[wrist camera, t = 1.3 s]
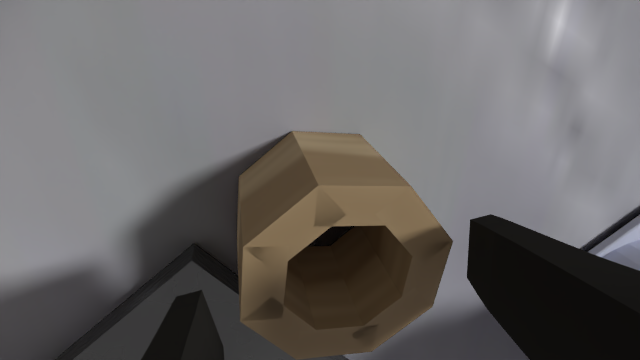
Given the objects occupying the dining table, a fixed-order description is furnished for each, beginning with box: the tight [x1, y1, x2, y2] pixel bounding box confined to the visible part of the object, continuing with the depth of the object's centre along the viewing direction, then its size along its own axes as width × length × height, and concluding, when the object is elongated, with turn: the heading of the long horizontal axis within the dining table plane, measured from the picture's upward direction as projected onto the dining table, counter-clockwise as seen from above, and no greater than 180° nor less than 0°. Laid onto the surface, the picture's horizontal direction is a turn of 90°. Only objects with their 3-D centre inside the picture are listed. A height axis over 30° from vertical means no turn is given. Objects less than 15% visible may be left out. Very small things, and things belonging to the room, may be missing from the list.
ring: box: [237, 131, 453, 360], centre depth 12 cm, size 6×6×4 cm
